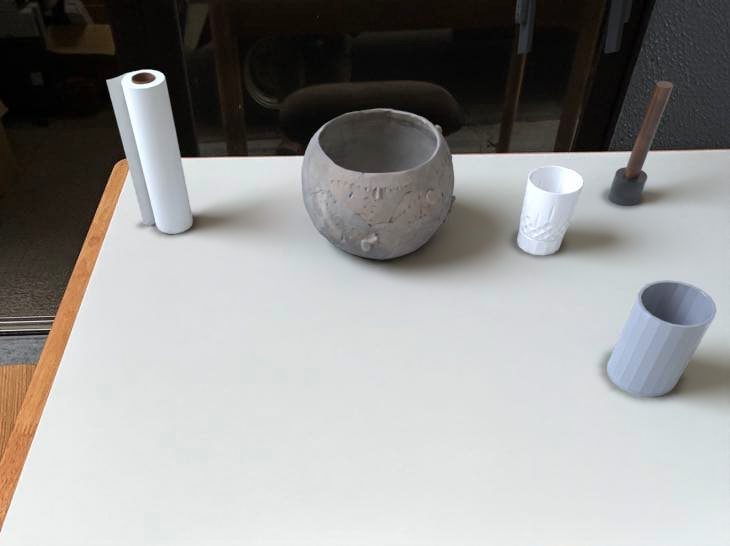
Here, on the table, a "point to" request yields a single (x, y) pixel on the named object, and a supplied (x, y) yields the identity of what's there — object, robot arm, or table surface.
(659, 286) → the tumbler
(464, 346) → the table surface
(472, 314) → the table surface
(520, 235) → the white cup
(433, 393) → the table surface
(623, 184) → the brush
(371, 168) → the bowl
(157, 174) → the paper towel roll
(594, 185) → the table surface
